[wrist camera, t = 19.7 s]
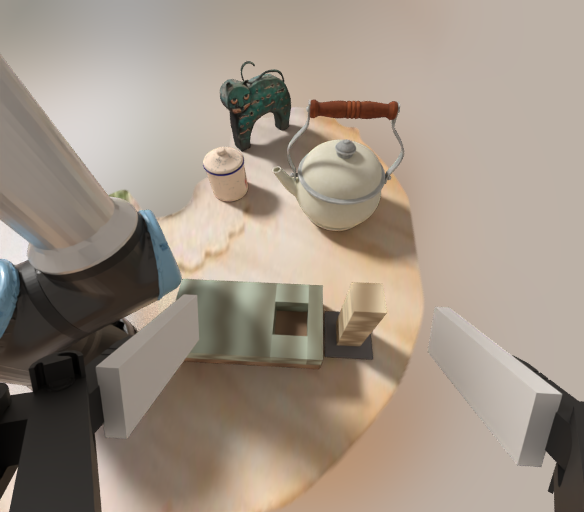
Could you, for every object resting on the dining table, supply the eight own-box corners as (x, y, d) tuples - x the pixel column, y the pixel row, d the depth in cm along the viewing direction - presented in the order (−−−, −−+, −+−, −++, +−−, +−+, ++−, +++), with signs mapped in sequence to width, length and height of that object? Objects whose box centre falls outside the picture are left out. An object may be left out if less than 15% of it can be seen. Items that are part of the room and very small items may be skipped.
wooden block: (336, 345, 47) (354, 311, 33) (335, 322, 49) (352, 282, 36) (360, 346, 47) (386, 313, 33) (358, 323, 49) (382, 283, 35)
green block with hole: (177, 360, 46) (160, 350, 40) (194, 295, 53) (182, 278, 47) (319, 369, 45) (322, 360, 39) (319, 301, 52) (322, 285, 46)
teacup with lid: (256, 191, 68) (249, 151, 58) (224, 208, 65) (211, 169, 55) (231, 166, 73) (221, 125, 63) (200, 181, 70) (185, 140, 60)
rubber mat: (325, 356, 46) (325, 356, 46) (324, 312, 51) (324, 311, 50) (372, 359, 46) (373, 358, 46) (367, 314, 50) (368, 313, 50)
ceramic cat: (239, 156, 75) (223, 77, 58) (226, 145, 78) (207, 66, 61) (294, 128, 82) (294, 50, 65) (280, 119, 84) (277, 41, 68)
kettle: (376, 182, 69) (412, 74, 48) (386, 241, 59) (437, 138, 38) (278, 179, 70) (271, 72, 49) (271, 237, 60) (260, 133, 39)
